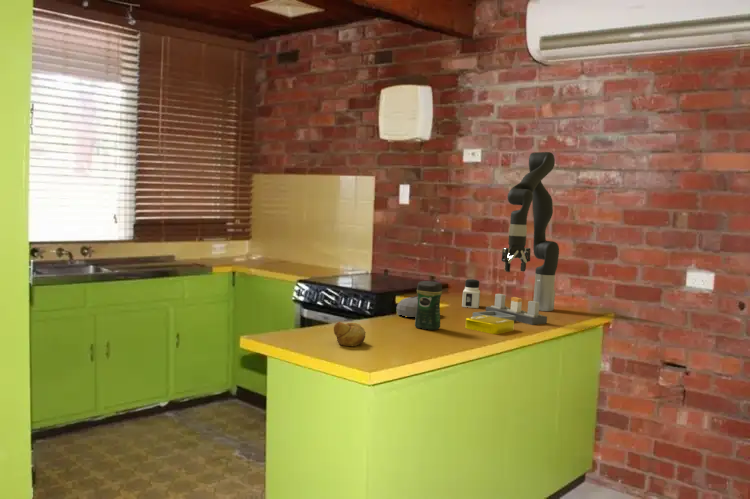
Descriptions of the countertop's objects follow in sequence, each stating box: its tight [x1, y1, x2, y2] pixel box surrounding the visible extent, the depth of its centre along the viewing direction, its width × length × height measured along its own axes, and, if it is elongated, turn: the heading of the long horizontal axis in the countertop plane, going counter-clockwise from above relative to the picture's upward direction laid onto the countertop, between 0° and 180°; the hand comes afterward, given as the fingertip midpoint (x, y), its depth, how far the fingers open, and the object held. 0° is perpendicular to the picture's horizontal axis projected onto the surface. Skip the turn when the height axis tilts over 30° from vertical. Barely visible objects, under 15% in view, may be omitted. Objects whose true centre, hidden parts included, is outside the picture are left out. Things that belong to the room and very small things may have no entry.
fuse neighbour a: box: [493, 293, 507, 309], centre depth 313 cm, size 2×4×9 cm, turn 35°
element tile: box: [464, 315, 515, 335], centre depth 277 cm, size 15×15×5 cm
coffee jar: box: [414, 280, 443, 331], centre depth 271 cm, size 10×8×19 cm
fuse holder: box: [485, 305, 548, 326], centre depth 305 cm, size 9×28×4 cm, turn 35°
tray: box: [471, 310, 517, 323], centre depth 297 cm, size 13×13×2 cm
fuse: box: [526, 300, 540, 317], centre depth 296 cm, size 2×4×9 cm, turn 35°
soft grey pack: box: [396, 295, 418, 319], centre depth 298 cm, size 15×8×20 cm
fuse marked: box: [510, 296, 523, 313], centre depth 304 cm, size 2×4×9 cm, turn 35°
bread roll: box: [333, 321, 367, 347], centre depth 237 cm, size 13×10×8 cm
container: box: [461, 278, 481, 309], centre depth 329 cm, size 8×8×13 cm
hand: (515, 271), depth 303 cm, fingers open, 8 cm apart
